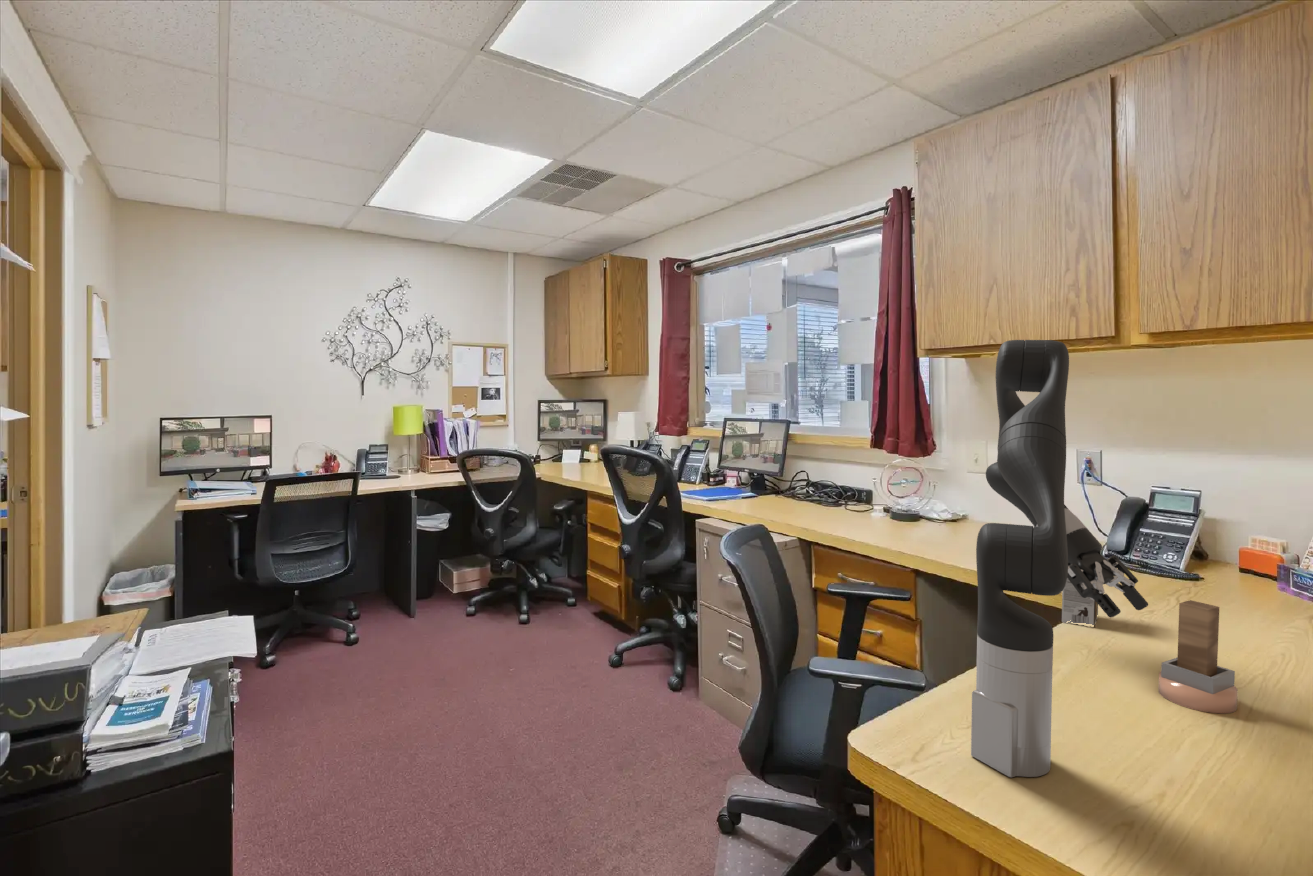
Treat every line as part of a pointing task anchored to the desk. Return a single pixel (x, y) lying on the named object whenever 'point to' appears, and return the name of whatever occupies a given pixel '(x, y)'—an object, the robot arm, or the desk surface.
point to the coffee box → (1077, 606)
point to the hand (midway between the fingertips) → (1130, 611)
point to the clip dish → (1198, 688)
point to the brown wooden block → (1198, 637)
